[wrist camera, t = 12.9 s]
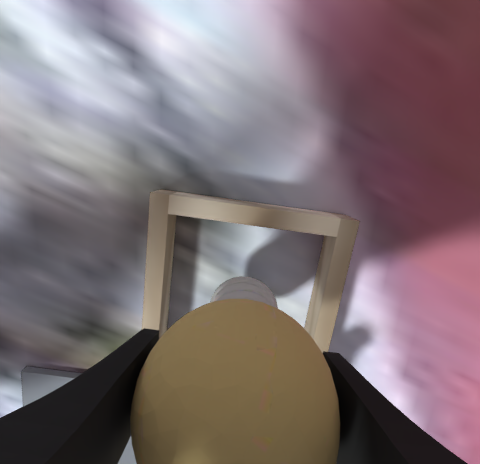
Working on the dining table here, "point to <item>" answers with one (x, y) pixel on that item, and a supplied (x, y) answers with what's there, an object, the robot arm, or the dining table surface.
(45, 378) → the gray square panel
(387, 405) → the robot arm
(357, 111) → the dining table surface
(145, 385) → the light bulb
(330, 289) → the square wooden frame
